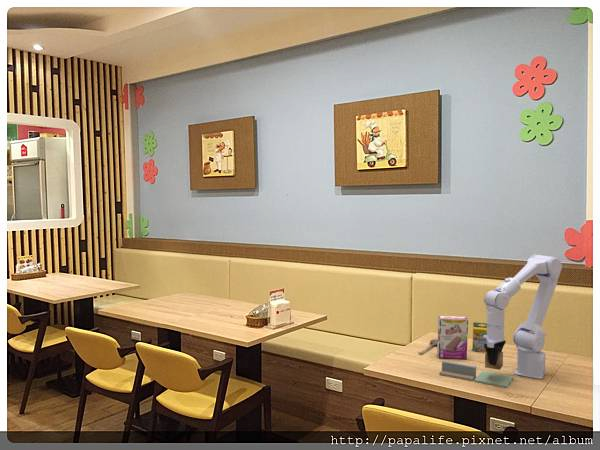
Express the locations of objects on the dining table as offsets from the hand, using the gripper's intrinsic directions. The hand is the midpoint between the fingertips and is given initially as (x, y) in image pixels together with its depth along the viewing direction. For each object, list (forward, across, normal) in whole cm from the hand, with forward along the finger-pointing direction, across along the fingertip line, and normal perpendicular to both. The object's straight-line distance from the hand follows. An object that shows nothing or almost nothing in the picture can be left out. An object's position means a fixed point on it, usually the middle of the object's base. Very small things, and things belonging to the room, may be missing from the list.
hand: (494, 362), depth 191 cm
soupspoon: (+7, -24, -31) cm, 40 cm away
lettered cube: (+2, 0, 0) cm, 2 cm away
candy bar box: (+6, -17, -20) cm, 27 cm away
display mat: (+6, 0, 0) cm, 6 cm away
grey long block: (+6, +3, -12) cm, 14 cm away
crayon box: (+6, -32, -12) cm, 35 cm away
